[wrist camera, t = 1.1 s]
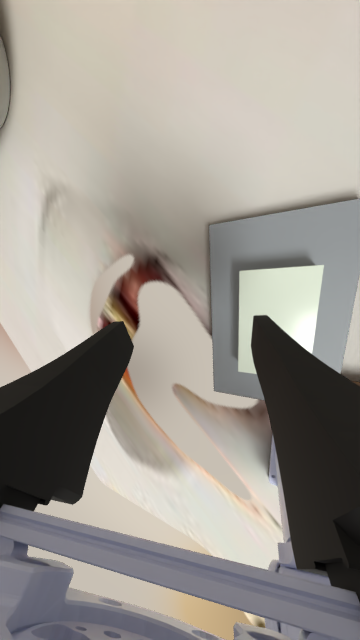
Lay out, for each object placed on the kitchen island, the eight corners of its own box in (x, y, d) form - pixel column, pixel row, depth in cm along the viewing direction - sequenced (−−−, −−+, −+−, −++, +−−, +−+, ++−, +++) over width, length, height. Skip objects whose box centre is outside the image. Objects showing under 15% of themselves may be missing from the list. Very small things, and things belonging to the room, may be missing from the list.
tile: (302, 369, 17) (308, 381, 16) (239, 362, 20) (238, 371, 18) (315, 265, 15) (323, 264, 13) (240, 270, 17) (239, 271, 15)
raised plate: (327, 402, 19) (333, 412, 18) (216, 383, 23) (213, 391, 22) (362, 202, 14) (374, 195, 13) (212, 228, 18) (209, 225, 17)
